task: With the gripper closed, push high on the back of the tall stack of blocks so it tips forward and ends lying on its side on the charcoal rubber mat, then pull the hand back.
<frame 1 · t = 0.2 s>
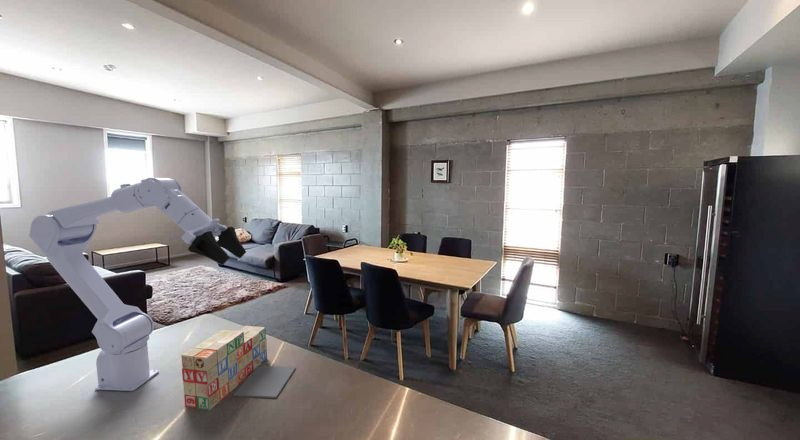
hand: (234, 258, 75), 31 cm above the kitchen counter, tool tilted 45°, fingers open, 7 cm apart
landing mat: (266, 381, 80), on the kitchen counter
stack of blocks: (231, 381, 80), on the kitchen counter
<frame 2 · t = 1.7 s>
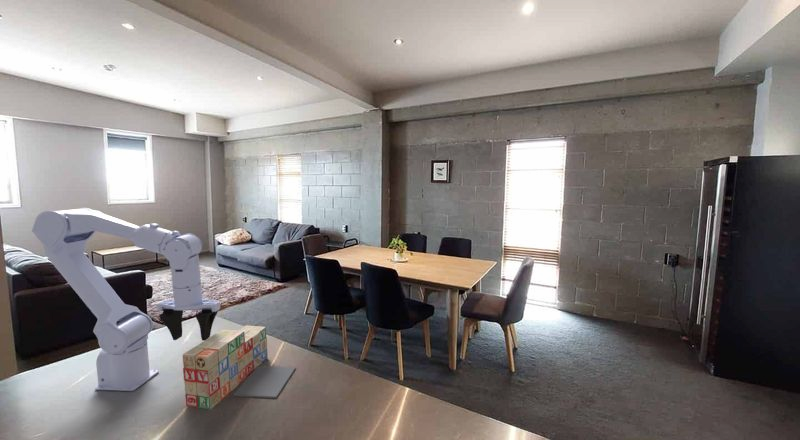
hand: (191, 338, 80), 10 cm above the kitchen counter, tool pointing down, fingers open, 7 cm apart
nothing on the kitchen counter moved.
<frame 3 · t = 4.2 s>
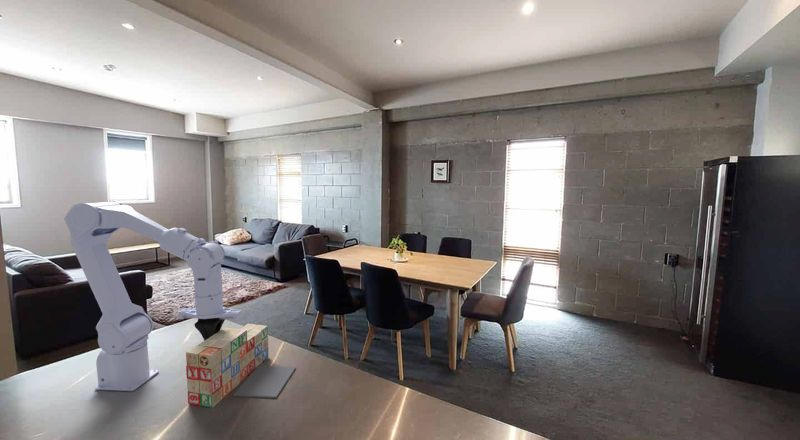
hand: (212, 346, 80), 8 cm above the kitchen counter, tool pointing down, fingers closed
stack of blocks: (233, 378, 81), on the kitchen counter, touching gripper
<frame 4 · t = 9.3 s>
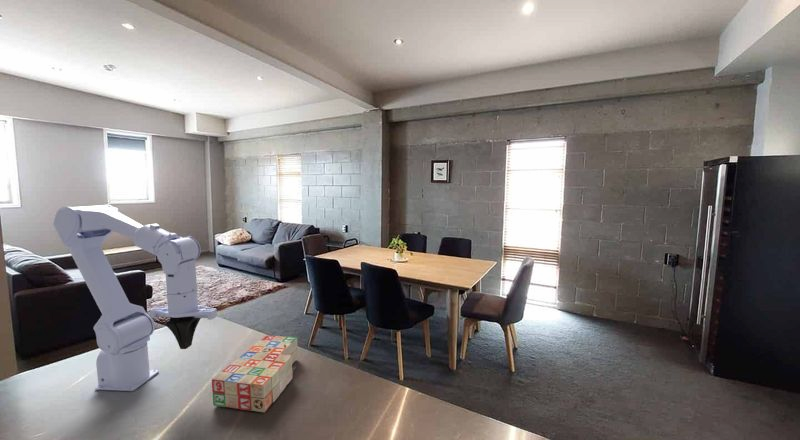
hand: (186, 347, 76), 10 cm above the kitchen counter, tool pointing down, fingers closed
stack of blocks: (242, 365, 80), point 4 cm above the kitchen counter, touching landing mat
at the end: stack of blocks tilted 90°; stack of blocks touching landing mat; stack of blocks inside the target area (4.3 cm from its centre), point 3.5 cm above the kitchen counter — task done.
